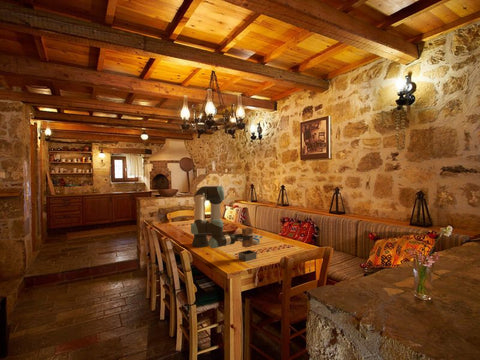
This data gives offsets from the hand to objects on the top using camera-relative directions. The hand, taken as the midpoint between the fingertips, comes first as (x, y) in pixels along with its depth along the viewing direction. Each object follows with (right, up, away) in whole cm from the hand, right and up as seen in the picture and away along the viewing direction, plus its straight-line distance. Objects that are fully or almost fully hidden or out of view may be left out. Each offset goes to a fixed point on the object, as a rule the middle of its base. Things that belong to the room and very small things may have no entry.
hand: (252, 234), depth 207 cm
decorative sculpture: (+4, -17, +52) cm, 55 cm away
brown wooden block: (-4, -8, -3) cm, 10 cm away
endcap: (-4, -18, -3) cm, 18 cm away
